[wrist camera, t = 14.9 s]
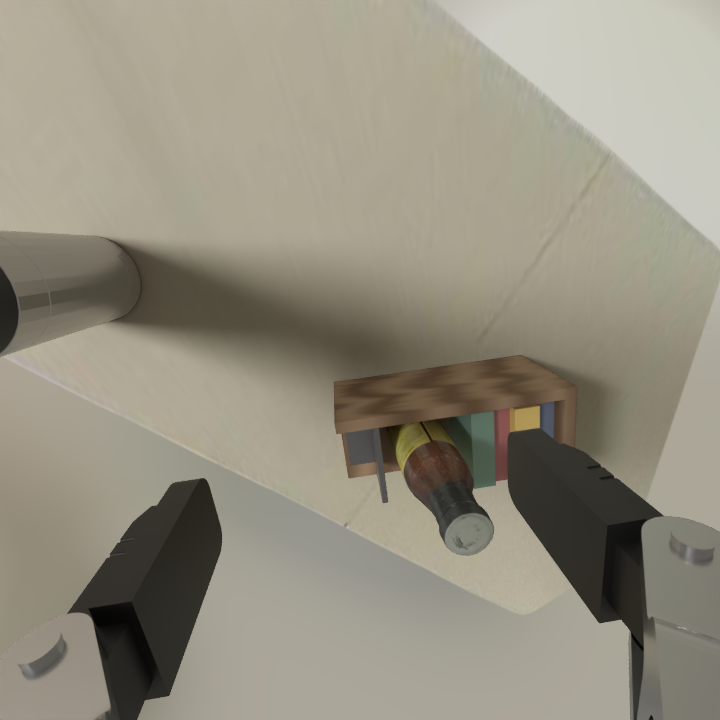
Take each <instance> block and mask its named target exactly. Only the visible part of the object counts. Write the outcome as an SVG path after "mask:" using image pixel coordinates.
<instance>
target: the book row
mask: <svg viewBox="0 0 720 720" xmlns="http://www.w3.org/2000/svg"><path fill="white" fill-rule="evenodd" d="M534 428H540V429H542V430H543V431H544V432H546V433H547V434H548V435H549V436H550V437H552V438H553V439H554V402H547V403H540V404H534V405H527V406H520V407H514V408H507V409H500V410H494V411H487V412H480V413H474V414H467V415H461V416H454V417H449V429H450V439H451V440H452V442H453V443H454V445H455V446H456V448H457V449H458V450H459V452H460V454H461V456H462V458H463V459H464V460H465V462H466V463H467V465H468V466H469V469H470V471H471V474H472V477H473V480H474V489H476V488H482V487H488V486H495V485H496V481H500V480H506V479H508V453H507V439H508V435H509V433H510V432H515V431H521V430H528V429H534Z"/></svg>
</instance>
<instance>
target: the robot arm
mask: <svg viewBox="0 0 720 720" xmlns="http://www.w3.org/2000/svg"><path fill="white" fill-rule="evenodd" d="M140 288H141V282H140V276H139V273H138V270H137V268H136V265H135V264H134V262H133V260H132V259H131V257H130V256H129V255H128V254H127V253H126V252H125V251H124V250H123V249H122V248H121V247H119V246H118V245H116V244H115V243H113V242H111V241H109V240H107V239H104V238H101V237H97V236H84V235H69V234H53V233H35V232H16V231H0V357H1V356H4V355H7V354H11V353H14V352H17V351H20V350H22V349H25V348H28V347H31V346H34V345H38V344H41V343H44V342H47V341H50V340H53V339H56V338H59V337H62V336H65V335H68V334H71V333H74V332H77V331H81V330H84V329H87V328H90V327H93V326H96V325H99V324H102V323H105V322H108V321H111V320H114V319H117V318H120V317H122V316H124V315H126V314H127V313H129V312H130V311H131V310H132V308H133V307H134V306H135V304H136V303H137V301H138V298H139V295H140ZM507 453H508V488H509V492H510V496H511V498H512V501H513V503H514V505H515V507H516V508H517V510H518V511H519V512H520V514H521V515H522V517H523V518H524V519H525V521H526V522H527V524H528V525H529V526H530V528H531V529H532V530H533V532H534V533H535V535H536V536H537V537H538V539H539V540H540V542H541V543H542V544H543V546H544V547H545V549H546V550H547V551H548V553H549V554H550V556H551V557H552V558H553V560H554V561H555V563H556V564H557V565H558V567H559V568H560V569H561V571H562V572H563V574H564V575H565V576H566V578H567V579H568V581H569V582H570V583H571V585H572V586H573V588H574V589H575V590H576V592H577V593H578V595H579V596H580V597H581V599H582V600H583V601H584V603H585V604H586V605H587V607H588V608H589V610H590V611H591V613H592V614H593V615H594V617H595V618H596V619H597V621H598V622H599V623H604V622H610V621H615V620H622V621H623V622H624V623H625V625H626V626H627V627H628V628H629V630H630V633H629V642H628V645H629V688H630V720H720V532H719V531H717V530H715V529H714V528H712V527H709V526H707V525H704V524H702V523H699V522H696V521H693V520H689V519H685V518H680V517H671V516H666V517H665V516H663V515H662V514H661V513H660V512H658V511H657V510H656V509H655V508H653V507H652V506H651V505H650V504H648V503H647V502H646V501H645V500H643V499H642V498H641V497H640V496H638V495H637V494H636V493H635V492H633V491H632V490H631V489H630V488H629V487H627V486H626V485H625V484H624V483H622V482H621V481H620V480H619V479H617V478H614V475H612V474H611V473H610V472H609V471H607V470H606V469H605V468H604V467H603V468H601V466H600V464H599V463H597V462H596V461H595V460H594V459H592V458H591V457H590V456H589V455H587V454H586V453H585V452H583V451H580V450H578V449H576V448H574V447H571V446H569V445H567V444H565V443H564V444H559V443H557V442H556V441H555V440H554V439H553V438H552V437H550V436H549V435H548V434H547V433H546V432H544V431H543V430H542V429H540V428H534V429H528V430H521V431H515V432H510V433H509V435H508V439H507ZM221 546H222V532H221V526H220V522H219V519H218V515H217V512H216V508H215V504H214V501H213V497H212V494H211V490H210V487H209V484H208V482H207V480H206V479H204V478H202V479H195V480H188V481H181V482H175V483H173V484H172V485H170V487H169V488H168V490H167V491H166V493H165V494H164V496H163V497H162V499H161V500H160V502H159V503H158V505H157V506H151V507H150V508H149V509H148V510H147V511H145V512H144V513H143V514H142V515H141V516H139V517H138V518H137V519H136V520H135V521H134V522H133V523H132V524H131V525H130V527H129V528H128V530H127V531H126V532H125V534H124V535H123V537H122V538H121V541H120V543H117V545H116V546H115V548H114V549H113V551H112V552H111V553H110V558H107V559H106V560H105V562H104V563H103V564H102V566H101V567H100V569H99V570H98V571H97V573H96V574H95V576H94V577H93V578H92V580H91V581H90V583H89V584H88V585H87V587H86V588H85V590H84V591H83V592H82V594H81V595H80V596H79V598H78V599H77V601H76V602H75V603H74V605H73V606H72V608H71V609H70V610H69V612H68V613H67V614H65V615H62V616H59V617H56V618H54V619H51V620H49V621H47V622H45V623H43V624H42V625H40V626H38V627H37V628H35V629H33V630H32V631H30V632H29V633H28V634H26V635H25V636H23V637H22V638H21V639H20V640H18V641H17V642H16V643H15V644H14V645H13V646H12V647H11V648H10V649H9V650H7V651H6V653H5V654H4V655H3V656H2V657H1V658H0V720H137V718H138V716H139V713H140V711H141V708H142V706H143V704H144V701H145V700H149V699H154V698H160V697H166V696H169V695H170V692H171V689H172V686H173V683H174V681H175V678H176V675H177V672H178V670H179V667H180V664H181V661H182V658H183V656H184V653H185V650H186V647H187V644H188V642H189V639H190V636H191V633H192V630H193V628H194V625H195V622H196V619H197V616H198V614H199V611H200V608H201V605H202V602H203V599H204V597H205V594H206V591H207V589H208V586H209V583H210V580H211V577H212V575H213V571H214V569H215V566H216V563H217V560H218V558H219V555H220V552H221Z"/></svg>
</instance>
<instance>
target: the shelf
mask: <svg viewBox="0 0 720 720" xmlns="http://www.w3.org/2000/svg"><path fill="white" fill-rule="evenodd" d="M547 402H554V440H555V441H556V442H557V443H559V444H564V443H565V444H567V445H569V446H571V447H574V448H575V428H576V405H577V386H575V385H573V384H571V383H570V382H568V381H566V380H564V379H563V378H561V377H559V376H557V375H555V374H554V373H552V372H550V371H548V370H547V369H545V368H543V367H541V366H539V365H538V364H536V363H534V362H532V361H531V360H529V359H527V358H525V357H523V356H522V355H518V356H511V357H504V358H498V359H491V360H484V361H477V362H470V363H463V364H456V365H450V366H443V367H436V368H429V369H422V370H415V371H409V372H402V373H395V374H388V375H381V376H374V377H367V378H361V379H354V380H347V381H340V382H334V415H335V428H336V434H341V433H342V440H343V446H344V452H345V459H346V465H347V471H348V477H349V478H354V477H361V476H367V475H374V474H377V472H376V467H375V462H372V463H366V464H359V465H353V466H350V460H349V453H348V447H347V440H346V434H345V433H348V432H354V431H361V430H368V429H374V428H379V433H380V441H381V449H382V457H383V465H384V473H387V472H393V471H400V470H401V468H400V466H399V463H398V461H397V458H396V455H395V453H394V450H393V448H392V445H391V443H390V440H389V437H388V432H387V426H394V425H401V424H407V423H414V422H421V421H427V420H434V419H437V421H438V422H439V423H440V425H441V426H442V428H443V429H444V430H445V432H446V433H447V435H448V436H449V437H450V429H449V417H454V416H461V415H467V414H474V413H480V412H487V411H494V410H500V409H507V408H514V407H520V406H527V405H534V404H540V403H547Z"/></svg>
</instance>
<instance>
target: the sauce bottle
mask: <svg viewBox="0 0 720 720" xmlns="http://www.w3.org/2000/svg"><path fill="white" fill-rule="evenodd" d="M387 432H388V437H389V440H390V443H391V445H392V448H393V450H394V453H395V455H396V458H397V461H398V463H399V466H400V468H401V471H402V473H403V476H404V478H405V481H406V483H407V485H408V487H409V489H410V491H411V492H412V493H413V495H414V496H415V497H416V498H418V499H419V500H420V501H421V502H422V503H423V504H424V505H425V506H426V507H427V508H428V509H429V510H430V511H431V512H432V513H433V514H434V516H435V517H436V520H437V522H438V524H439V532H440V535H441V537H442V539H443V541H444V543H445V545H446V546H447V548H448V549H450V550H451V551H452V552H454V553H456V554H459V555H465V556H469V555H473V554H476V553H478V552H480V551H481V550H483V549H484V548H485V547H486V546H487V545H488V544H489V543H490V541H491V540H492V538H493V534H494V526H493V523H492V521H491V519H490V518H489V516H488V514H487V512H486V511H485V510H484V509H483V508H482V507H480V506H479V505H478V503H477V502H476V500H475V498H474V496H473V494H472V491H473V487H474V480H473V477H472V474H471V471H470V469H469V466H468V465H467V463H466V462H465V460H464V459H463V458H462V456H461V454H460V452H459V450H458V449H457V448H456V446H455V445H454V443H453V442H452V440H451V439H450V437H449V436H448V435H447V433H446V432H445V430H444V429H443V428H442V426H441V425H440V423H439V422H438V421H437V419H434V420H427V421H421V422H414V423H407V424H401V425H394V426H387Z"/></svg>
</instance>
